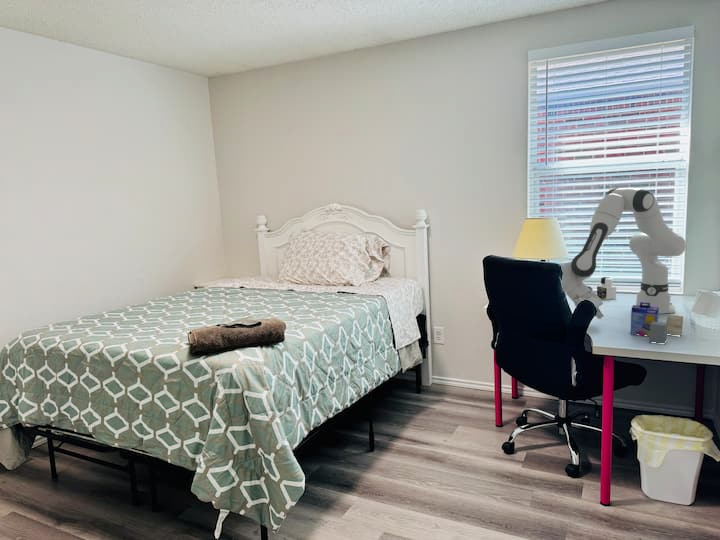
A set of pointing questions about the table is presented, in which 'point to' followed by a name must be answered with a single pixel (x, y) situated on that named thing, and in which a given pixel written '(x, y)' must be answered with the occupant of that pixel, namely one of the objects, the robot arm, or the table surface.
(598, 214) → the robot arm
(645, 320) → the ink cartridge box
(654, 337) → the slate block
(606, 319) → the table surface
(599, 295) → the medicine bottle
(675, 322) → the birch block
